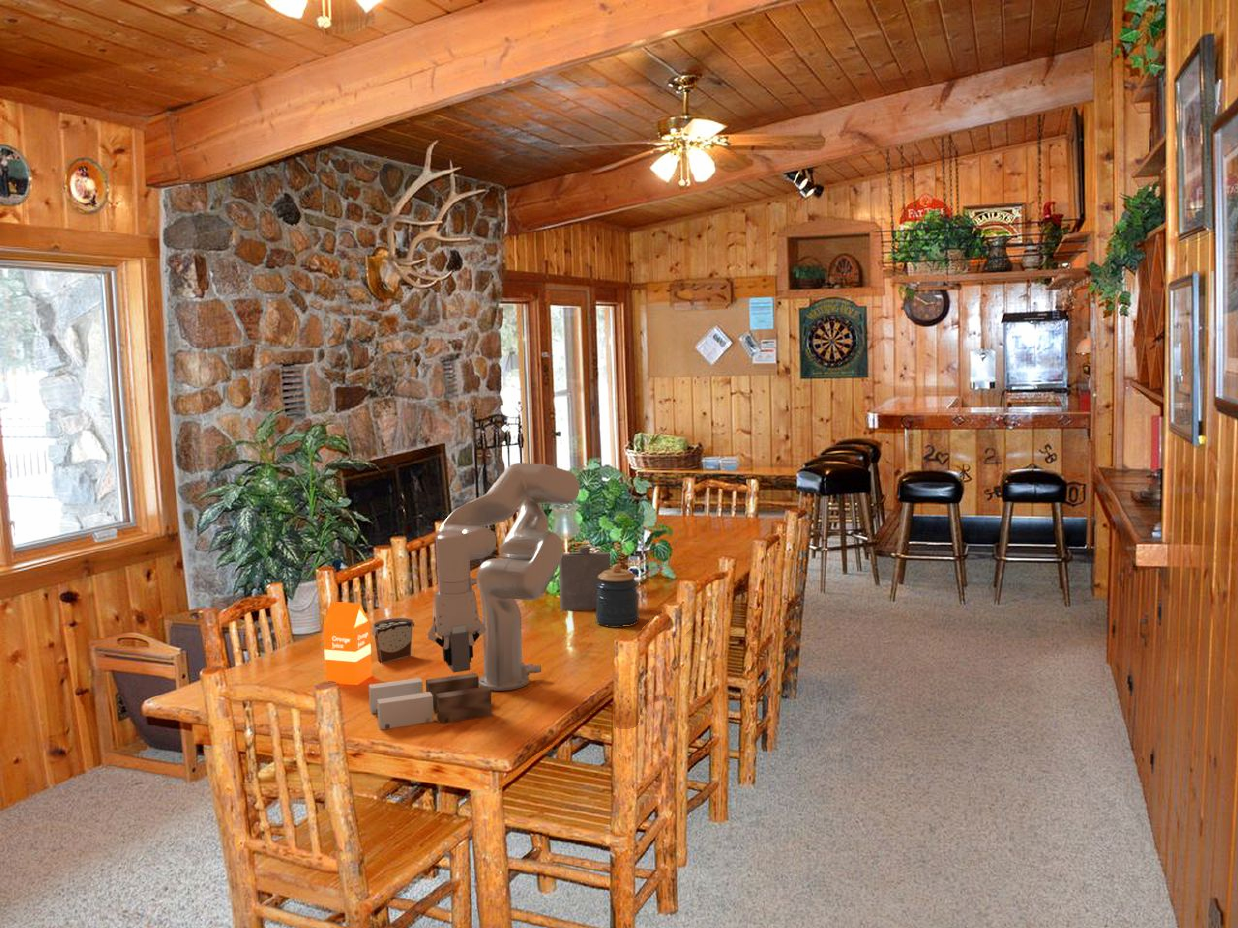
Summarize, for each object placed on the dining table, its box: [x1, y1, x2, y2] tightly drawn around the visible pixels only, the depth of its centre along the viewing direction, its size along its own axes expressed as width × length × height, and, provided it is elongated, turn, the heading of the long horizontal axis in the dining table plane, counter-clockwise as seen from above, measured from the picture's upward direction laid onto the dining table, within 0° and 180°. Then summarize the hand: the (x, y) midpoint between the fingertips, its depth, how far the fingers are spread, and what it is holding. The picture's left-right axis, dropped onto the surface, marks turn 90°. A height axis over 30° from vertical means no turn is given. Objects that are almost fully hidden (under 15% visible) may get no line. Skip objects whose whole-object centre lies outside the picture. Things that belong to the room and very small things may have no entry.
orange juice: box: [323, 601, 373, 686], centre depth 279 cm, size 8×9×20 cm
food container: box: [371, 617, 415, 664], centre depth 297 cm, size 12×6×10 cm, turn 135°
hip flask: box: [558, 545, 611, 611], centre depth 344 cm, size 16×4×20 cm, turn 95°
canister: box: [595, 563, 640, 626], centre depth 328 cm, size 13×13×18 cm
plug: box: [446, 625, 471, 673], centre depth 255 cm, size 4×6×11 cm, turn 22°
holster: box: [425, 672, 493, 724], centre depth 256 cm, size 12×14×6 cm
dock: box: [368, 677, 435, 730], centre depth 253 cm, size 12×14×6 cm
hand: (458, 661), depth 255 cm, fingers closed on plug, 4 cm apart
